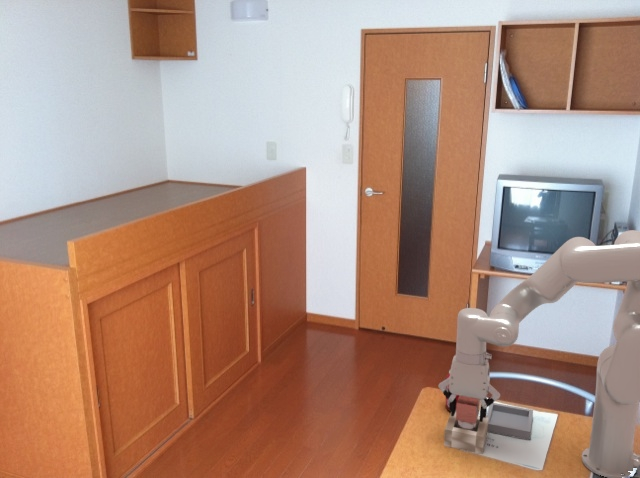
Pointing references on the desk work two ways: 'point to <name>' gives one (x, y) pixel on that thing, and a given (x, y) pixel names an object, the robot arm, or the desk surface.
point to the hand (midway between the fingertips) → (467, 415)
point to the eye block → (466, 435)
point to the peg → (467, 412)
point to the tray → (510, 421)
